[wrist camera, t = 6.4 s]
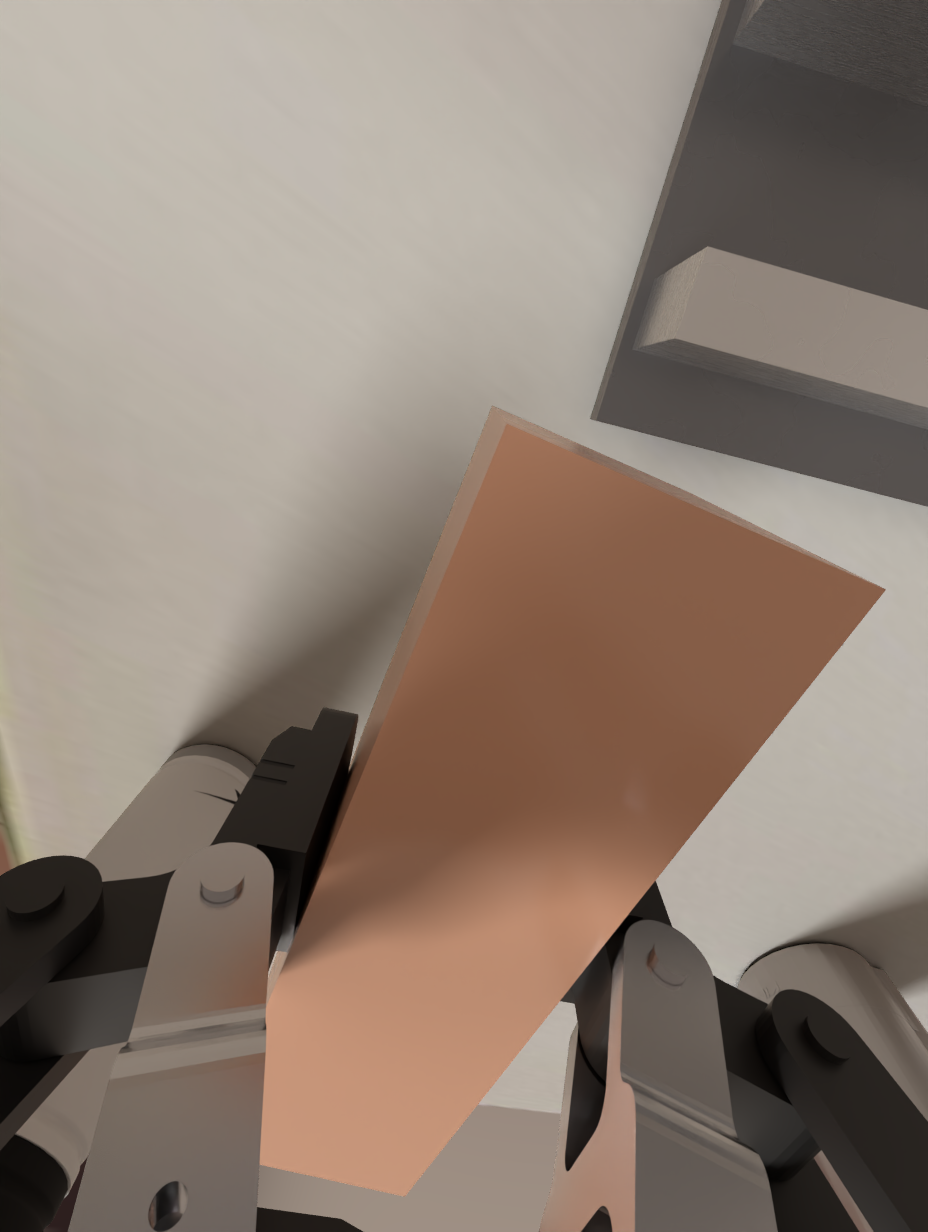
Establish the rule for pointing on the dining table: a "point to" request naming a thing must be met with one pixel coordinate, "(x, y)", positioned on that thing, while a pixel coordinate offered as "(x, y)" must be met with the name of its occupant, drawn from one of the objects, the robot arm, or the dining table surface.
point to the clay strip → (525, 784)
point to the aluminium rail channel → (792, 251)
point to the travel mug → (66, 1121)
